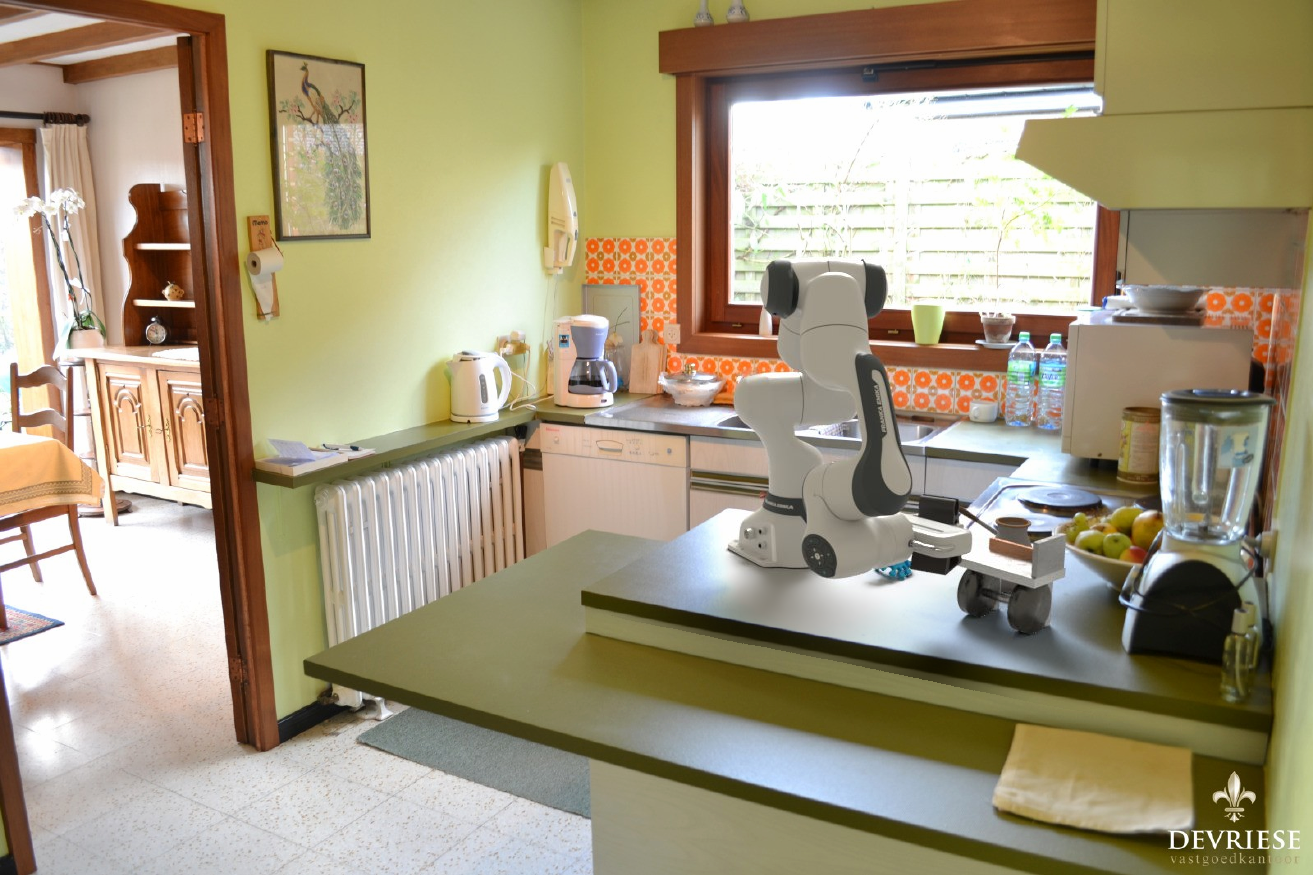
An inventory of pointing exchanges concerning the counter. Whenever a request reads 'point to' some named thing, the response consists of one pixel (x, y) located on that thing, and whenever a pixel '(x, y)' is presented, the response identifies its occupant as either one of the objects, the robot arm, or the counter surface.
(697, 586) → the counter surface
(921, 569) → the phone stand
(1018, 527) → the coffee pot
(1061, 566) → the trolley
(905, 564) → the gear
